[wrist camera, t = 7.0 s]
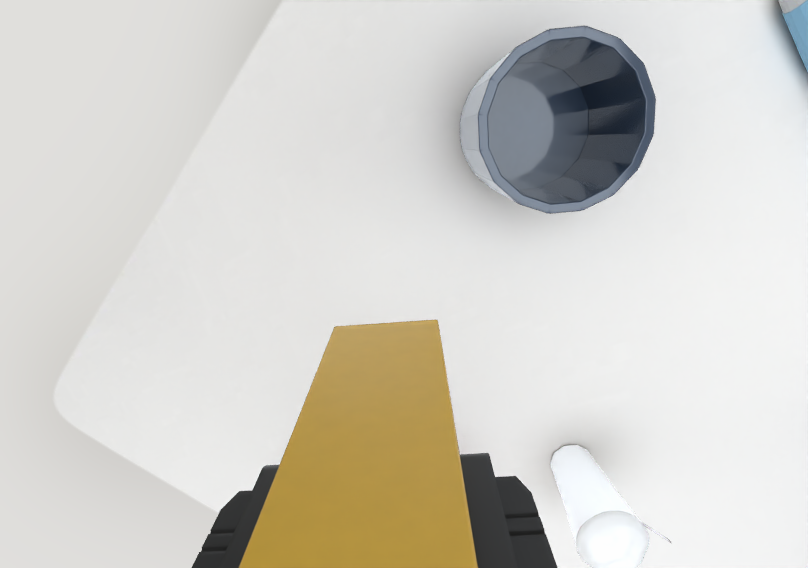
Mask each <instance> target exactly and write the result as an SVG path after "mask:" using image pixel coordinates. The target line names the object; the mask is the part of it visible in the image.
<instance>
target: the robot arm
mask: <svg viewBox="0 0 808 568" xmlns="http://www.w3.org/2000/svg"><path fill="white" fill-rule="evenodd" d="M460 460H461V466H462V473H463V479H464V485H465V491H466V497H467V504H468V510H469V516H470V522H471V528H472V534H473V541H474V547H475V553H476V559H477V565H478V568H557V565H556V562H555V560H554V557H553V554H552V551H551V548H550V545H549V542H548V539H547V537H546V534H545V533H544V528H543V525H542V522H541V519H540V517H539V515H538V511H537V508H536V505H535V502H534V499H533V496H532V493H531V492H530V491H529V490H528V489H527V488H526V487H525V486H524V484H523V483H522V482H521V481H520V480H519V479H518V478H517V477H516V476H509V477H495V476H494V472H493V468H492V464H491V460H490V456H489V454H488V453H479V454H462V455H460ZM278 468H279V465H267V466H264V467H263V469H262V470H261V473H260V475H259V477H258V479H257V482H256V484H255V486H254V488H253V491H239V492H238V493H237V494H236V495H235V496H234V497H233V498H232V499H231V500H230V501H229V502H228V503H227V504H226V505H225V506H224V507H223V508H222V509H221V511H220V513H219V515H218V517H217V519H216V521H215V523H214V525H213V527H212V529H211V533H210V534H208V536H207V539H206V540H205V543H204V544H203V547H202V551H201V552H199V554H198V556H197V558H196V560H195V562H194V564H193V566H192V568H239V566H240V563H241V561H242V558H243V556H244V553H245V551H246V548H247V546H248V543H249V541H250V538H251V536H252V533H253V531H254V528H255V526H256V523H257V521H258V518H259V515H260V513H261V510H262V508H263V505H264V503H265V500H266V498H267V495H268V493H269V490H270V488H271V485H272V483H273V480H274V478H275V475H276V473H277V470H278Z"/></svg>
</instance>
